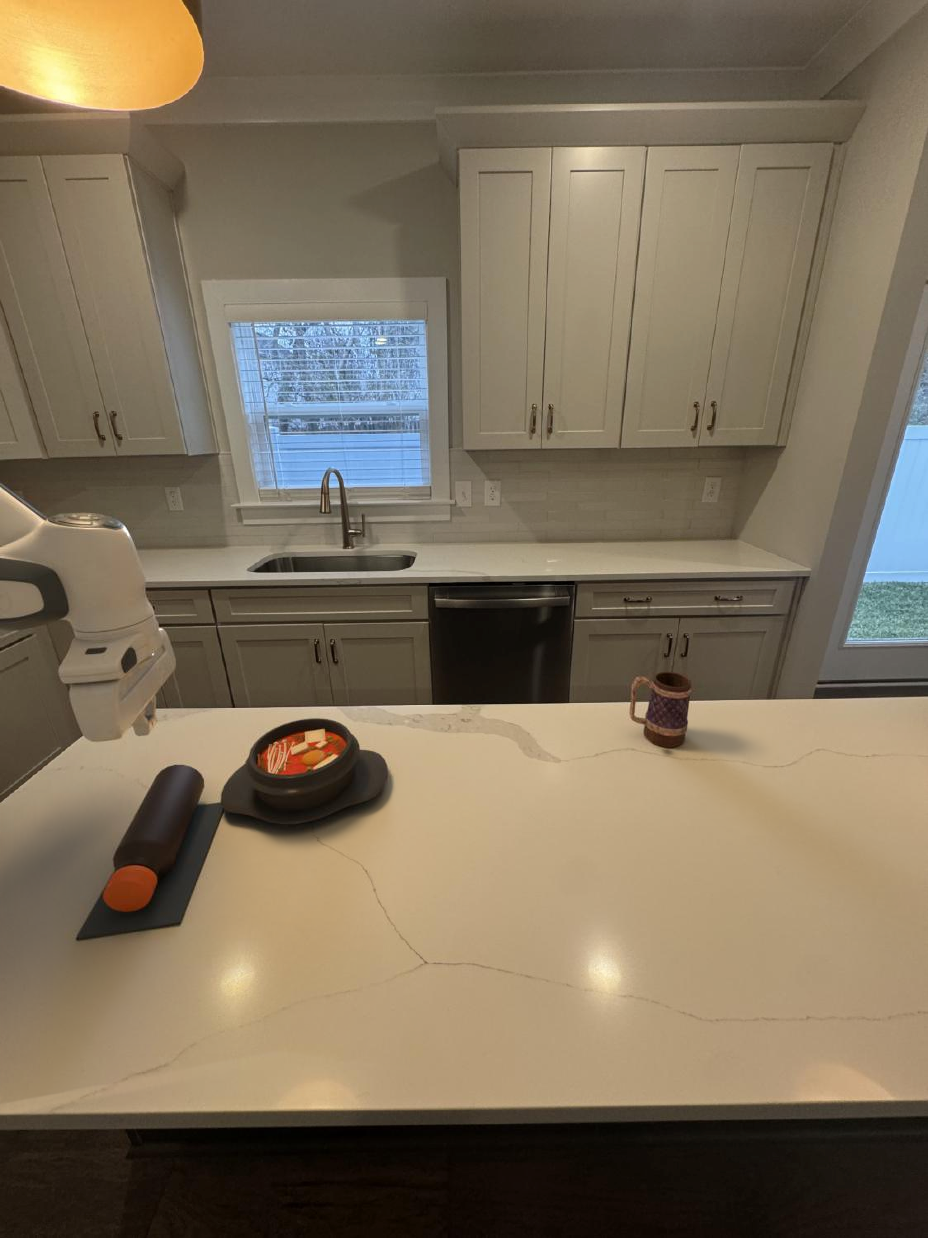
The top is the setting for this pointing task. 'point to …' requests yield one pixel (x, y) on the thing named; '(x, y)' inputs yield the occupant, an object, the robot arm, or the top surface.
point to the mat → (162, 884)
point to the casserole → (304, 773)
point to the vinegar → (153, 837)
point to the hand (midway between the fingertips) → (147, 730)
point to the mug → (664, 708)
